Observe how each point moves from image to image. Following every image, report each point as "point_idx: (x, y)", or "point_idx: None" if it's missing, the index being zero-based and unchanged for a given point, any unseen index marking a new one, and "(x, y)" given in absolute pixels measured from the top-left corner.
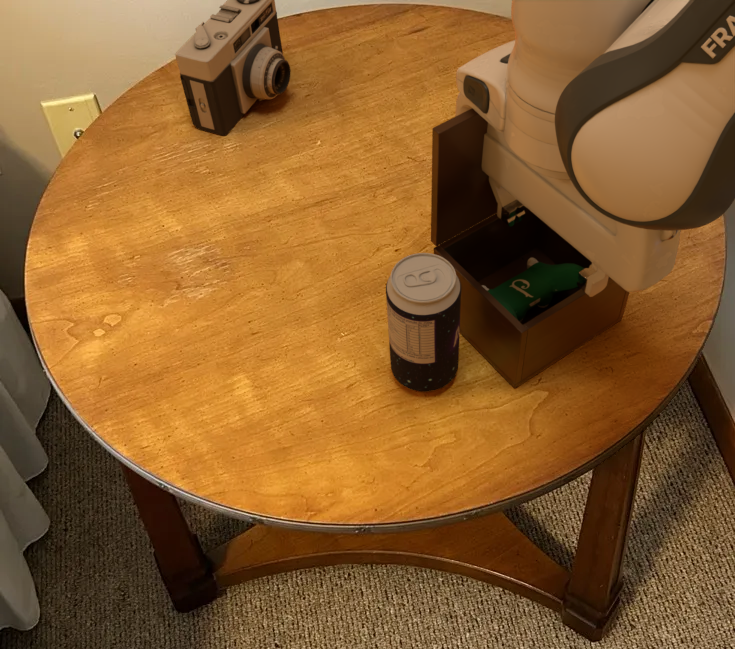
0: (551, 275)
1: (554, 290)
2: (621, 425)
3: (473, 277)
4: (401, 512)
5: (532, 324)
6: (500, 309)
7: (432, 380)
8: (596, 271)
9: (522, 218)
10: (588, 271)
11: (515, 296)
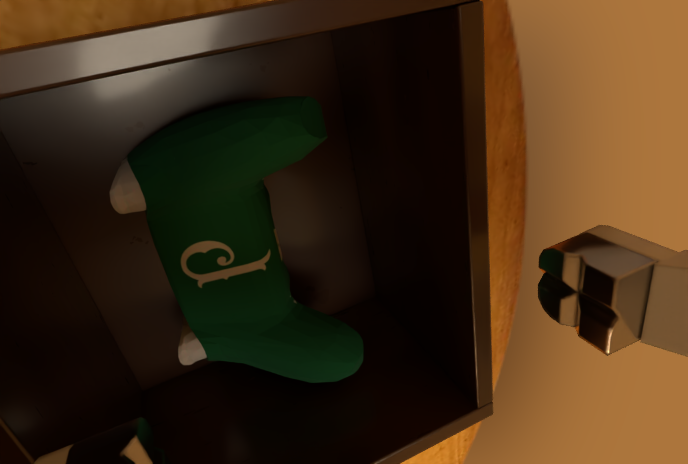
0: (231, 186)
1: (262, 182)
2: (516, 158)
3: (100, 336)
4: (461, 454)
5: (489, 389)
6: (417, 450)
7: None
8: (643, 295)
9: (141, 423)
10: (628, 324)
11: (251, 291)
